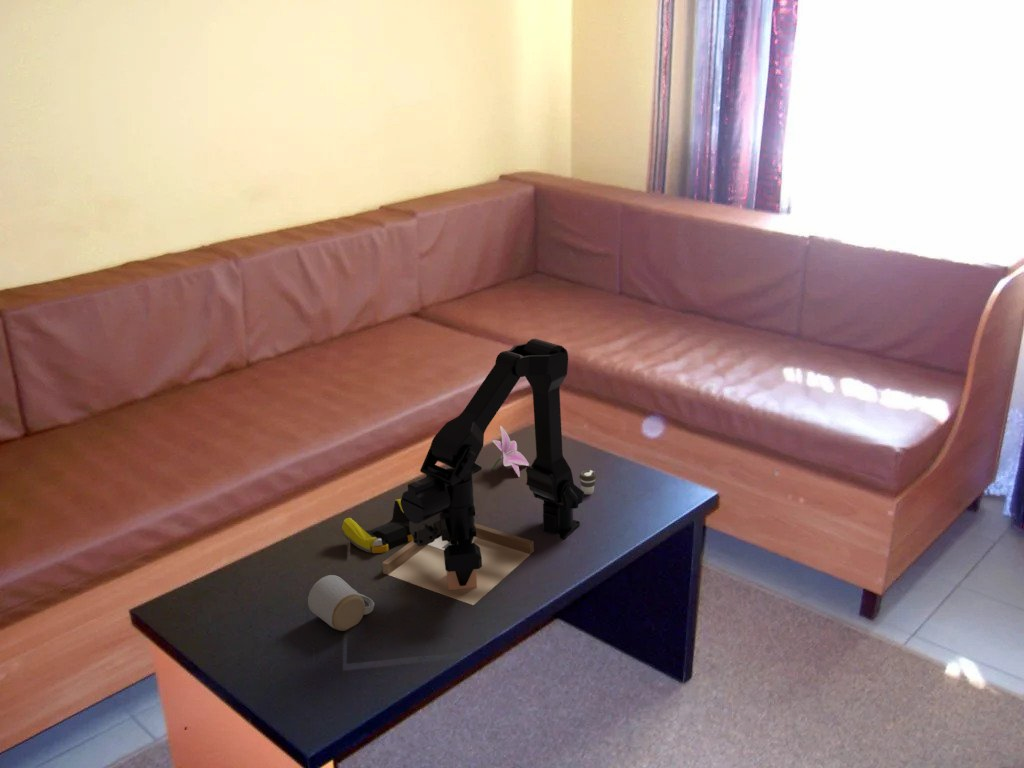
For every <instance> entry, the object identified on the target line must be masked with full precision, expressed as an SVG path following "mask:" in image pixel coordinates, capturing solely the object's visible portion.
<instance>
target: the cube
mask: <svg viewBox="0 0 1024 768" xmlns="http://www.w3.org/2000/svg"><path fill="white" fill-rule="evenodd" d="M447 580H448V588H449V590H455V589H465V588H475V587H477V579H476V569H473V571H472V573H471V576H470V578H469V580H468V582H467V584H466V585H465V586H460V585H459V582H458V579H457V575H456V572H455V571H451V572H449V571H447Z"/></svg>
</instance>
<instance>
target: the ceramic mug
mask: <svg viewBox="0 0 1024 768" xmlns="http://www.w3.org/2000/svg"><path fill="white" fill-rule="evenodd" d="M366 603H367V604H368V606H366ZM307 605H308V608H309V610H310V612H311V613H313V614H314V615H316V616H317V617H318V618H319V619H321V620H322V621H323V622H325V623H326V624H327V625H328V626H330V627H331V628H332V629H335V630H337V631H340V632H345V631H348V630H349V629H351V628H352V627H355V626H356V625H357V624H359V623H360V622H361V620H362V619H363V616H364V615H369V614H370V613H372V612H373V610H374V608H375V602H374V601H373V599H372V598H370V597H368V596H366V595H364V594H361V593H359V592H358V591H357V590H356V589H354V588H353V587H351V586H350V585H349V584H348V583H347V582H346V581H345V579H343V578H341V577H340V576H338V575H334V574H329V575H325V576H323V577H321V578H320V579H318V580H317V581H316V583H314V584H313V586H312V587H311V589H310V591H309V594H308V597H307Z"/></svg>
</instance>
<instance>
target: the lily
mask: <svg viewBox="0 0 1024 768" xmlns="http://www.w3.org/2000/svg"><path fill="white" fill-rule="evenodd" d="M499 428H500V433H501V441H500V440H498V439H497V440H495V439H493V440H492V442H493V443H494V445H496V447H497V448H498V450H500V451H501V456H500V457H499V458H498V459H497V461H496V462H495V463H494V465H493V467H492V468H491V470H494V468H495V467H496V465H497V464H498V462H500V460H501V459H503V466H504V467H509V466H511V467H512V468H513V470H514V472H515V473H516V474H517V477H518V478H520V477H521V473H520V472H521V471H520V468H519V465H520V466H527V467H529V466H530V463H529V462H528V460H527V458H526V457H525V456H524V455H523V454H522V453H521V452H520V451H518V443H517V442H516V441H515V440H511V439H510V438H511V437H509V435H508V433H507V431H506V430H505V429H504V428H503V426H502V425H500V426H499Z"/></svg>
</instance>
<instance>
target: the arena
mask: <svg viewBox="0 0 1024 768" xmlns="http://www.w3.org/2000/svg"><path fill="white" fill-rule="evenodd" d="M475 528H476V536H475V537H473V540H472V543H475V544H476V545H477V546H479V547H480V552H481V557H482V567H481V568H480V569H476V579H477V587H475V588H465V589H455V590H449V588H448V580H447V571H446V570H445V562H444V550H445V549H446V548H447V547H448V545H450V543H449V542H448V541H442V536H440V537H439V538H437V539H435V540H434V542H432V543H429V544H427V545H425V546H417V544H416V543H414V541H413V540H412V541H410V542H407V544H405V545H404V546H403V547H401V548H400V549H399V550H397V551H396V552H395V553H393V554H392V555H391V556H390V557H388V558H387V559H385V560H384V561H382V563H381V564H382V573H383V574H384V575H387V576H389V577H393V578H395V579H398V580H401V581H403V582H407V583H409V584H412V585H415V586H418V587H420V588H423V589H427V590H429V591H431V592H435V593H438V594H441V595H443V596H446V597H450V598H452V599H455V600H458V601H460V602H463V603H467V604H469V605H472V606H475V605H476V603H478V602H479V601H480V600H481V599H482V598H484V597H485V596H486V595H487V594H488V593H489V592H490V591H491V590H492V589H494V588H495V587H496V586H497V585H498V584H499V583H501V581H503V580H504V579H505V578H506V577H507V576H508V575H509V574H510V573H512V572H513V571H514V570H515V569H516V568H517V567H518V566H519V565H520V564H522V563H523V562H524V561H525V560H526V559H527V558H528V557H529V556H530V555H532V554H533V553H534V550H535V548H534V540H530V539H528V538H525V537H521V536H518V535H514V534H511V533H507V532H504V531H501V530H497V529H494V528H490V527H488V526H486V525H482V524H478V523H475Z"/></svg>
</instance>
